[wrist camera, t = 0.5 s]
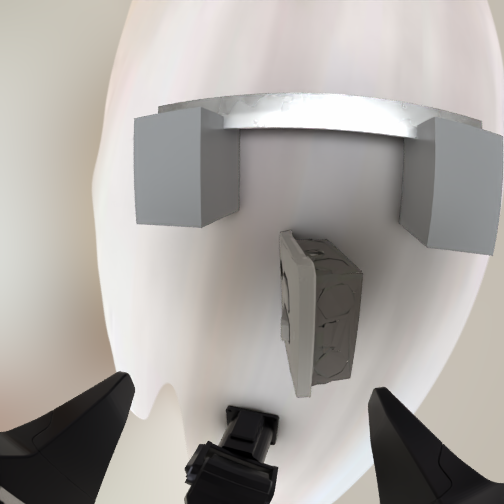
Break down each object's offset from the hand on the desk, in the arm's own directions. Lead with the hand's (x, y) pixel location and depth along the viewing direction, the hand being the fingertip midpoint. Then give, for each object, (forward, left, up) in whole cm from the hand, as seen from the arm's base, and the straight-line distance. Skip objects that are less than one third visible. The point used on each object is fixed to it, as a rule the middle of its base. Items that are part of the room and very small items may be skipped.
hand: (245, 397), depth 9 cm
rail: (+12, -1, -15) cm, 19 cm away
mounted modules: (+7, -1, -15) cm, 17 cm away
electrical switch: (-2, -1, -15) cm, 15 cm away
